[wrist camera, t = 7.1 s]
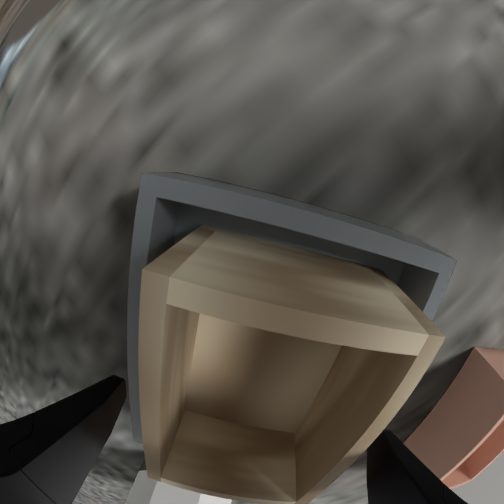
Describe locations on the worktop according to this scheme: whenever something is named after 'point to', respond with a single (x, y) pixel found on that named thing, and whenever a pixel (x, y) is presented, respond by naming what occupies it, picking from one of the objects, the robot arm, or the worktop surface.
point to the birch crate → (269, 365)
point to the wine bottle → (165, 493)
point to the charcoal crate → (274, 229)
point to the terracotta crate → (465, 422)
